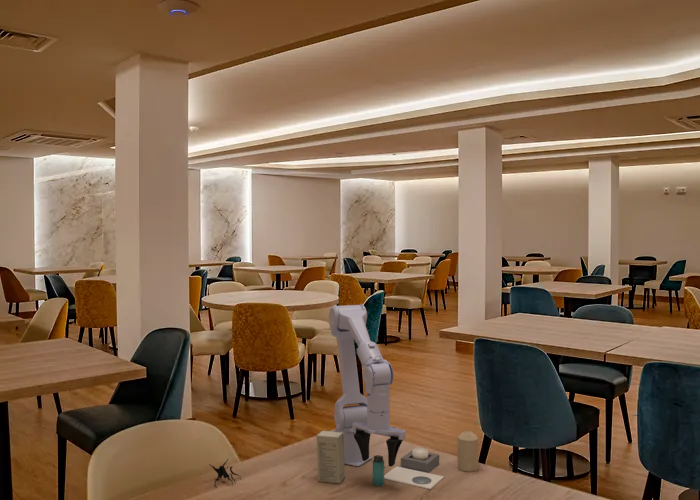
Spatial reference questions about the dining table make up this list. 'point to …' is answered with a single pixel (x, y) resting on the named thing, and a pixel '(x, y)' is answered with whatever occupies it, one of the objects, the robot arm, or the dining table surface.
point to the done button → (420, 453)
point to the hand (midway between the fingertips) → (378, 462)
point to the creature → (223, 472)
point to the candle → (468, 451)
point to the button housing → (420, 462)
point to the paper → (413, 477)
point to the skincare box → (330, 456)
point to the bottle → (378, 471)
